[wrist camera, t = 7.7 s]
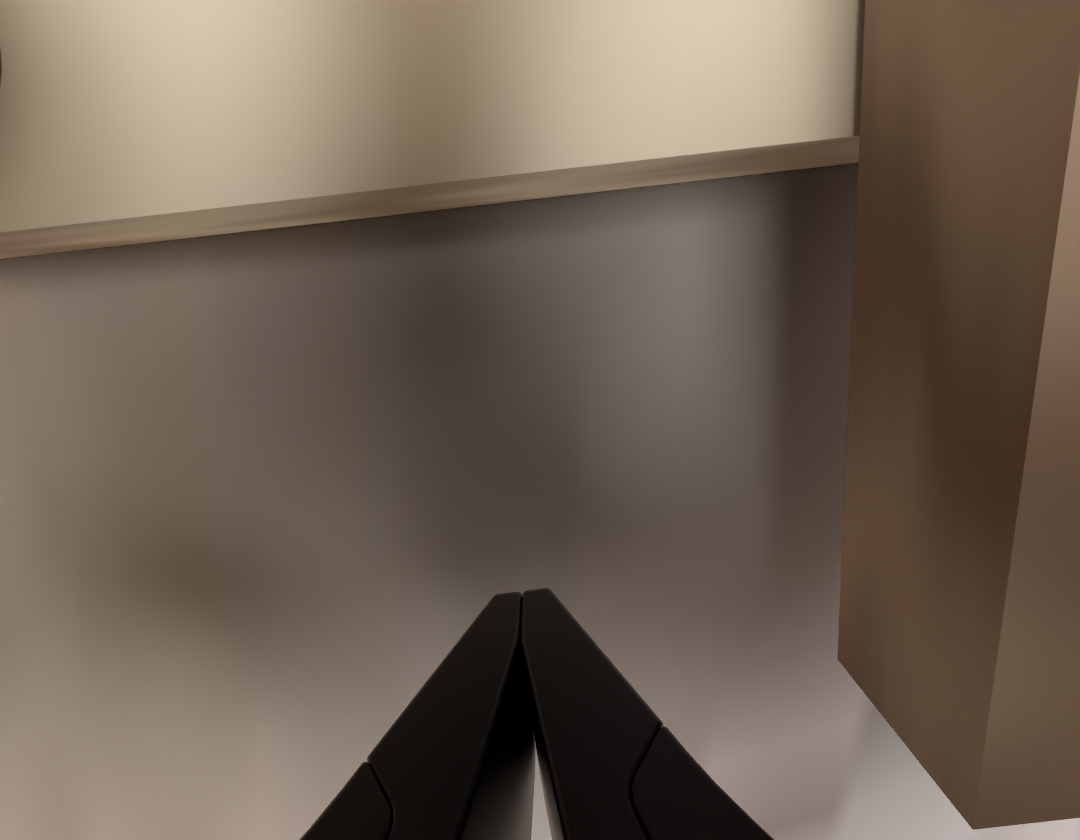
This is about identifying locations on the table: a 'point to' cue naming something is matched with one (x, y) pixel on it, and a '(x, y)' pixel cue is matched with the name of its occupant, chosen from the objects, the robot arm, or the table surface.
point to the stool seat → (397, 107)
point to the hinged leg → (969, 400)
